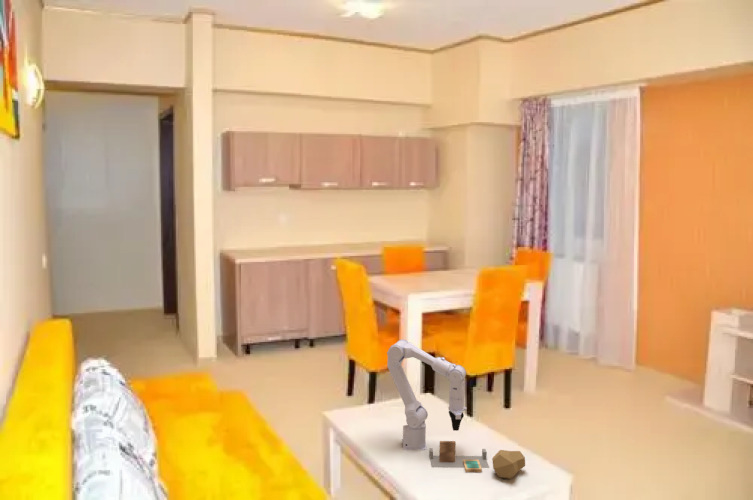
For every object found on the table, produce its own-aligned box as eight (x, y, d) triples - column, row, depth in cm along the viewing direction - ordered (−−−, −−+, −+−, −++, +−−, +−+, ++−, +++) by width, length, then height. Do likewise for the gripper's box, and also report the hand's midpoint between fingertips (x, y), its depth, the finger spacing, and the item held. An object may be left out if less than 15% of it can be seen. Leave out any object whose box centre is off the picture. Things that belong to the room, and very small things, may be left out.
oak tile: (462, 462, 250) (465, 472, 243) (462, 459, 250) (465, 468, 242) (478, 462, 250) (481, 472, 243) (478, 459, 250) (481, 468, 242)
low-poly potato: (495, 486, 234) (524, 476, 230) (483, 456, 237) (512, 445, 234) (504, 479, 247) (532, 470, 244) (493, 451, 251) (520, 441, 247)
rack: (431, 468, 246) (431, 459, 246) (429, 456, 256) (429, 448, 256) (489, 469, 246) (489, 460, 246) (485, 457, 256) (485, 448, 256)
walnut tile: (439, 462, 251) (439, 442, 249) (439, 460, 252) (439, 440, 251) (455, 462, 251) (455, 442, 249) (454, 460, 252) (455, 440, 251)
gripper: (469, 403, 249) (468, 437, 251) (464, 390, 263) (463, 422, 265) (450, 403, 249) (449, 437, 251) (446, 390, 263) (446, 422, 265)
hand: (455, 429), depth 258 cm, fingers closed
